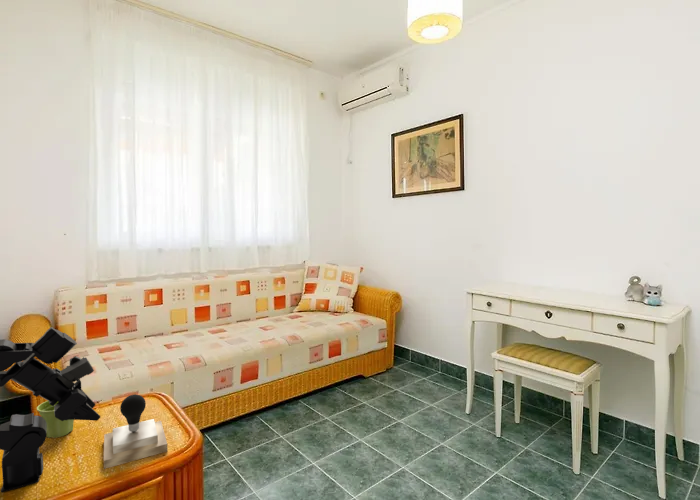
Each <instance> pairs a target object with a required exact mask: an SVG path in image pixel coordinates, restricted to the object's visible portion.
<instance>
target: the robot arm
mask: <svg viewBox="0 0 700 500" xmlns="http://www.w3.org/2000/svg"><path fill="white" fill-rule="evenodd" d="M77 343H78V342H77V341H75V339H73V338H72V337H71V336H70V335H69V334H67V333H66V332H62V331H61V330H58V329H55V328H54V327H52V326H51V327H49V328H48V329H47V330H46V331H45V332H44V334H43V335H41V336H40V338H38V339H37V340H36V341H35V342H13V341H12V340H9V339H0V388H3V387H4V386H5V385H6V384H8V382H10V381H13V382H14V383H16V384H18V385H20V386H22V387H24V388H25V389H27V390H29V391H30V392H32V396H35V397H36V398H38V397H41V398H43V399H44V400H46V401H49V404H50V405H52V406H54V405H55V404H56V403H57V402H58V403H57V404H56V405H55V406H54V414H55V417H56V418H57V419H59V420H61V421H64V420H74V421H75V420H77V421H78V420H79V421H96V422H97V421H99V420H100V419H101V415H100V414H99V413H98V412H97V411H96V410H95V409H94V408H95V406H96V403H95V402H94V401H93V399H91V398H90V396H88V395H87V393H86V392H84V391H83V389H82V381H81V379H82V378H84V377H86V376H89V375H91V374H92V373H93V372H94V371H95V369H94V368H93V366H92V364H91V363H90V361H89V359H88V358H87V357H84V356H83V357H82V358H81V357H79V356H77V355H76V356H73V357H71V358H70V359H69V365H67V366H66V367H65V368H63V369H62V370H60V369H59V368H57V367H56V368H53V369H52V368H51V367H50V366H48V365H52V364H54V363H55V364H57V363H58V362H59V361H60V360H61V359H62V358H64V357H65V356H66V355H67V354H68V353H69V352H70V351H71V350H72V349H73V348H74V347H75V346H76V345H77ZM36 358H37V359H36ZM44 363H45V364H44ZM46 364H47V365H46ZM46 440H47V423H46V420H45V419H44V418H42V417H41V415H34V412H31V413H28V414H12V415H11V416H10V420H9V421H6V422H4V423H1V424H0V450H1V451H3V453H2V459H1V471H2V475H1V476H2V487H1V488H0V492H1V493H4V492H8V491H13V490H16V489H20V488H22V487H26V486H30V485H33V484H37V483H39V480H40V478H41V476H42V475H43V472H44V454H43V452H40V447H41V446H42V445H43V444H44V443H45V442H46Z"/></svg>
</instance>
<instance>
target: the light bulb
mask: <svg viewBox="0 0 700 500" xmlns="http://www.w3.org/2000/svg"><path fill="white" fill-rule="evenodd" d="M146 405H147V404H146V399H145V398H144V397H143V396H142V395H140V394H130V395H128V396H126V397H125V398H124V399H123V400H122V402H121V404H120V408H119V409H120V413H121V415H122V416H123V417H125V419H126V422H127V425H129V431H131V432H136V431H137V430H138V429H139V422H141V417H142V414H143V412H144V411H145V408H146Z"/></svg>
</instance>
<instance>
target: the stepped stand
mask: <svg viewBox="0 0 700 500" xmlns="http://www.w3.org/2000/svg"><path fill="white" fill-rule="evenodd" d="M163 426H164V425H163V423H162V420H159V421H155V419H154V418H152V419H147V420H144V421H143V420H142V421H140V422H139V429H138V430H137V431H136V432H131V431H129V425H128V424H127V425H122V426H118V427H115V428H112V432H108V433H104V436H103V437H104V439H103V469H105V470H106V469H108V468H112V467H116V466H119V465H122V464H126V463H129V462H133V461H137V460H141V459H143V458H144V459H145V458H147V457H152V456H156V455H159V454H161V453H162V454H163V453H165V452H168V442H167V438H166V437H167V436H166V434H165V431H164V427H163Z"/></svg>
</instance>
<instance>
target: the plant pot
mask: <svg viewBox="0 0 700 500" xmlns="http://www.w3.org/2000/svg"><path fill="white" fill-rule="evenodd" d="M57 403H58V402H57ZM57 403H56V404H57ZM56 404H55V405H56ZM55 405H54V406H55ZM54 406H52V405H50V404H49V401H48V400H46V401H44V402H42V403H40V404H39V405H38V406H36V411H37V412H38V413H39V416H41V417H42V418H44V419H45V420H46V423H47V436H46V438H49V439H50V438H53V439H56V438H61V437H64V436H67V435H68V434H69V433H70V432H72V431H73V428H74V422H75V420H64V421H61V420H59V419H57V418H56V417H55V414H54Z"/></svg>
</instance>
